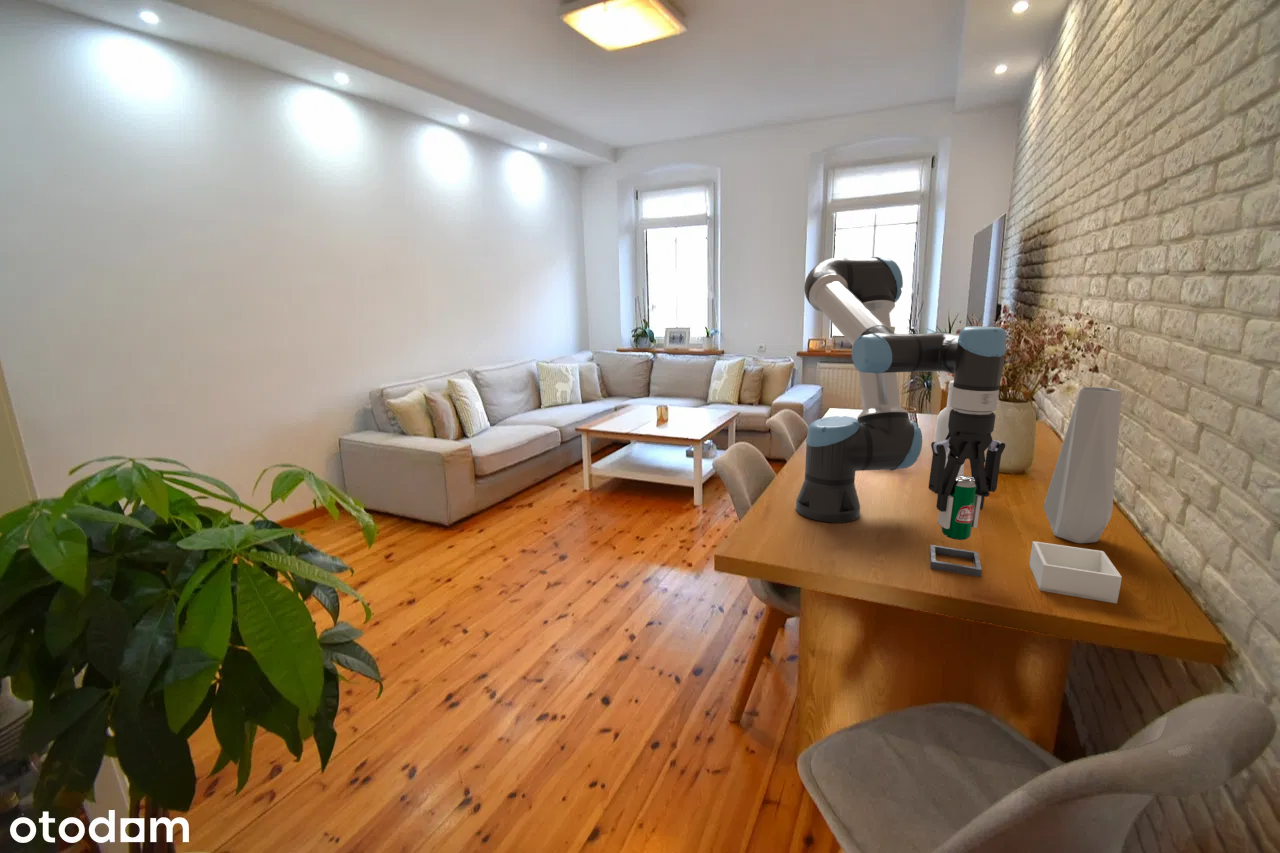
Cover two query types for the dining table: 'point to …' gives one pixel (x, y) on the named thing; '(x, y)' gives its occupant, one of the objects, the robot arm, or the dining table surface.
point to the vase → (1086, 468)
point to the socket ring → (955, 567)
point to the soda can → (962, 508)
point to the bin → (1075, 572)
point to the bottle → (945, 424)
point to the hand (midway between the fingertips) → (957, 525)
